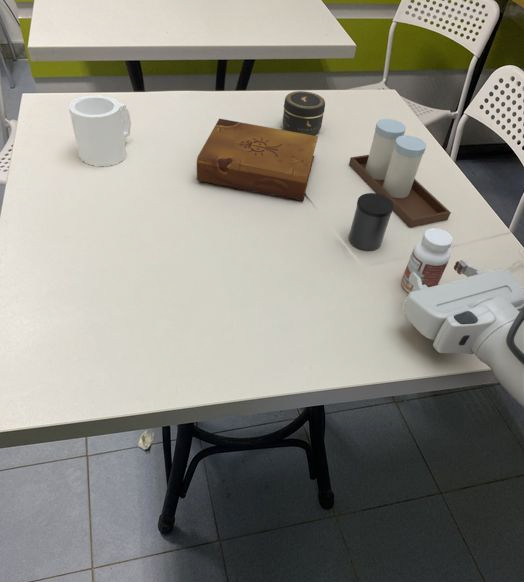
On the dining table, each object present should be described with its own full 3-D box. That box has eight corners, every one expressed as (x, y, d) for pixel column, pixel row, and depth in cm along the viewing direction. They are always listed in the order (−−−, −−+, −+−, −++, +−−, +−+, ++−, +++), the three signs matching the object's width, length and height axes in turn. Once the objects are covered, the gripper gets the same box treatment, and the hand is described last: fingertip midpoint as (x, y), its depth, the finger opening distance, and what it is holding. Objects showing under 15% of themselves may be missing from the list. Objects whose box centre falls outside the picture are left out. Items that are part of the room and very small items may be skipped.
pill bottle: (439, 284, 90) (462, 234, 82) (427, 303, 87) (451, 253, 78) (407, 270, 92) (427, 220, 83) (395, 288, 88) (414, 238, 80)
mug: (111, 133, 116) (104, 85, 108) (145, 147, 113) (140, 99, 105) (69, 156, 108) (57, 106, 100) (105, 171, 105) (96, 122, 97)
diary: (196, 183, 105) (196, 158, 101) (218, 142, 117) (219, 118, 113) (302, 202, 103) (306, 178, 99) (313, 159, 116) (318, 135, 111)
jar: (288, 141, 120) (292, 109, 114) (276, 122, 126) (279, 91, 120) (326, 138, 123) (332, 107, 117) (312, 120, 129) (317, 89, 123)
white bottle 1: (382, 164, 115) (395, 117, 107) (396, 178, 112) (411, 130, 103) (359, 168, 113) (371, 120, 105) (373, 182, 110) (386, 134, 102)
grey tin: (369, 230, 99) (381, 190, 92) (387, 250, 95) (400, 210, 89) (341, 236, 97) (351, 196, 90) (358, 256, 93) (369, 216, 86)
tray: (348, 167, 115) (350, 157, 113) (383, 161, 118) (385, 151, 116) (408, 230, 100) (412, 220, 98) (446, 222, 103) (451, 212, 101)
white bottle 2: (399, 181, 111) (415, 133, 103) (415, 196, 108) (432, 148, 99) (376, 185, 109) (390, 137, 101) (391, 200, 106) (407, 152, 97)
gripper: (550, 295, 76) (491, 242, 84) (444, 327, 70) (391, 266, 78) (530, 323, 81) (476, 270, 89) (429, 355, 75) (381, 295, 83)
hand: (436, 268), depth 83 cm, fingers open, 8 cm apart
